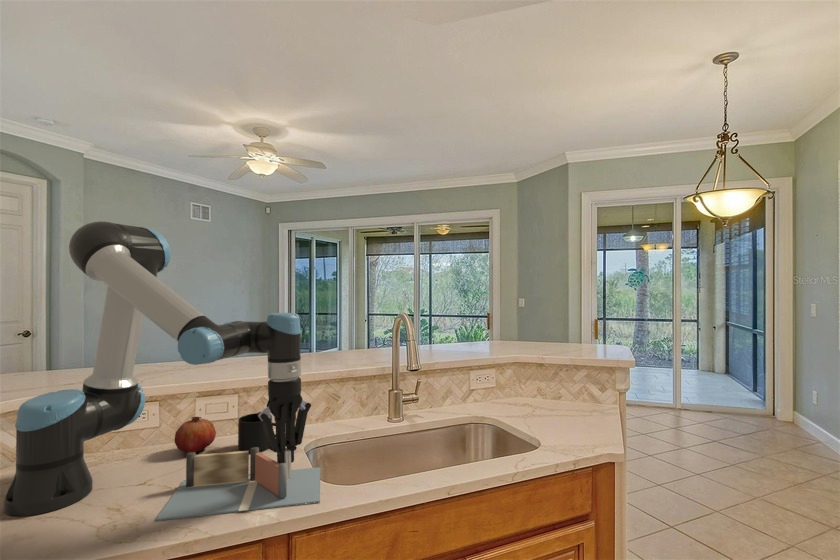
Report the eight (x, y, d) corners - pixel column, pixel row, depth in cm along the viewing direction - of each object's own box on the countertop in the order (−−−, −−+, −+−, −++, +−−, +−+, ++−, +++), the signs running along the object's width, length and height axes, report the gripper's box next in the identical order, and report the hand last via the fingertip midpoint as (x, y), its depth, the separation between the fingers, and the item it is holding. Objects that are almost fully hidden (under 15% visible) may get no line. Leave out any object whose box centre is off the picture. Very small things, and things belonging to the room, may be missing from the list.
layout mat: (154, 522, 86) (154, 520, 86) (184, 481, 104) (184, 479, 104) (319, 503, 94) (319, 501, 94) (320, 468, 112) (320, 466, 112)
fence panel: (253, 481, 103) (254, 451, 103) (260, 478, 104) (261, 449, 104) (280, 499, 94) (280, 466, 94) (288, 496, 96) (288, 464, 96)
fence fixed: (184, 489, 100) (185, 455, 100) (187, 485, 102) (187, 452, 102) (258, 482, 104) (258, 449, 104) (259, 478, 106) (259, 446, 106)
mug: (279, 451, 124) (279, 420, 124) (235, 455, 121) (235, 423, 121) (281, 439, 133) (281, 411, 133) (240, 443, 130) (241, 414, 130)
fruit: (217, 443, 130) (218, 410, 130) (212, 455, 121) (213, 420, 121) (178, 447, 127) (179, 413, 127) (170, 460, 117) (171, 424, 117)
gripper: (265, 385, 93) (267, 492, 92) (316, 375, 102) (318, 473, 102) (251, 380, 98) (252, 481, 98) (301, 371, 107) (302, 464, 107)
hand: (285, 477), depth 100 cm, fingers closed
